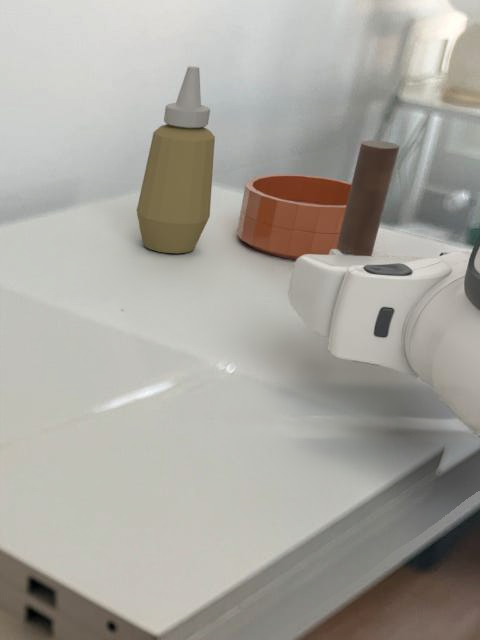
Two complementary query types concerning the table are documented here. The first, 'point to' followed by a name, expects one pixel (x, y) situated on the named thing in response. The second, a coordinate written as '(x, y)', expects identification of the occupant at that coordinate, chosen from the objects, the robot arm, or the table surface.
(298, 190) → the bowl
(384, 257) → the robot arm
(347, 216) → the stirring stick
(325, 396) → the table surface
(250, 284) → the table surface
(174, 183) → the squeeze bottle
